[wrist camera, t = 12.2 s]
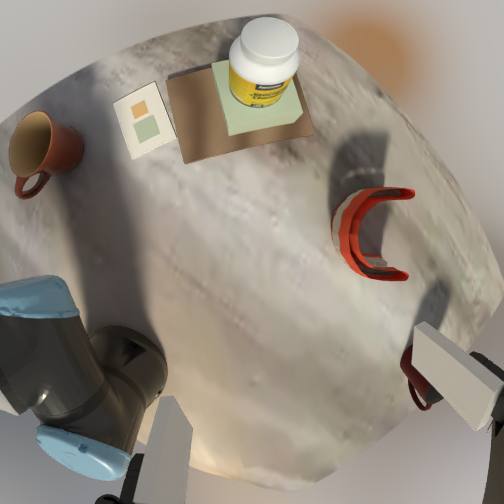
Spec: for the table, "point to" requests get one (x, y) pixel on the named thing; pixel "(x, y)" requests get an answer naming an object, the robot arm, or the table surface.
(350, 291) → the table surface
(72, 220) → the table surface
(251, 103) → the pill bottle
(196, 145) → the plate
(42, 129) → the mug
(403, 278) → the denture model
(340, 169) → the table surface
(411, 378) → the mug
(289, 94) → the brick
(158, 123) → the page
